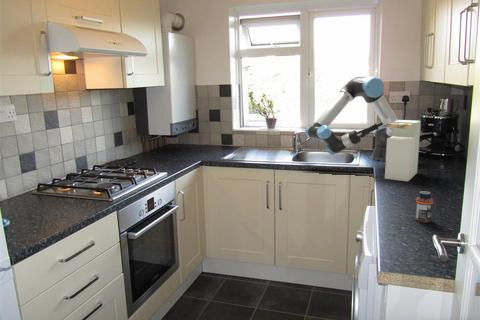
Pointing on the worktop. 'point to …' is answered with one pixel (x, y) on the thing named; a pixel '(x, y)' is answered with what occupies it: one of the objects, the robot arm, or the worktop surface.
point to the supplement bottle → (424, 207)
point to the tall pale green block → (402, 152)
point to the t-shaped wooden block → (399, 125)
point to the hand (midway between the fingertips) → (389, 120)
